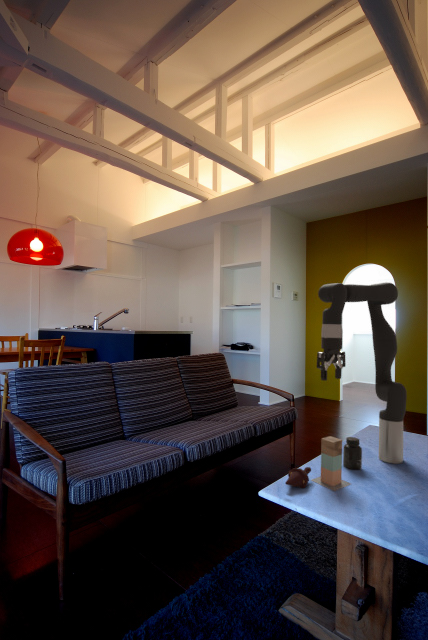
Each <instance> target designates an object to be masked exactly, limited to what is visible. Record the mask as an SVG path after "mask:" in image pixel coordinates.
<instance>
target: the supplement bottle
mask: <svg viewBox="0 0 428 640" xmlns="http://www.w3.org/2000/svg"><path fill="white" fill-rule="evenodd" d="M345 440H346V441H345V444H344V445H343V449H342V467H344V468H345V469H347V470H351V471H361V470H362V467H363V465H362V464H363V449H362V447H361V445H360V439H359V437H358V438H357V437H354V436H353V437H352V436H348V437H346V439H345Z"/></svg>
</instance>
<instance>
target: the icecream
mask: <svg viewBox="0 0 428 640" xmlns="http://www.w3.org/2000/svg"><path fill="white" fill-rule="evenodd" d="M311 471H312V468H311V467H310V466H307V467H305V468H304V469H302V468H298V467H297V468H295V467H294V468H292V469H290V470H288V473H287V476H288V478H287V480H286V481H285V485H287V486H290V487H291V486H292V487H295V488H301V489H305V488H306V487H307V485H308V484H309V482H310V478H309V473H311Z"/></svg>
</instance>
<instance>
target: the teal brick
mask: <svg viewBox="0 0 428 640" xmlns="http://www.w3.org/2000/svg"><path fill="white" fill-rule="evenodd" d="M321 467H323V468H325V469H328V470H330V471H332V472H334V471H336V470H339V469H343V453H342V454H341V455H338V456H335V457H332V456H329V455H326V454H323V453H321V452H320V468H321Z"/></svg>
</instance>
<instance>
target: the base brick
mask: <svg viewBox="0 0 428 640" xmlns="http://www.w3.org/2000/svg"><path fill="white" fill-rule="evenodd" d="M342 469H343V468H342ZM342 469H339V470H336V471H334V472H332V471H330V470H328V469H325V468H323V467H321V466H320V476H321V481H322V482H324V483H326V484H328V485H331V486H335V485H337V484H340V483H341V479H342V471H343V470H342Z"/></svg>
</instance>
